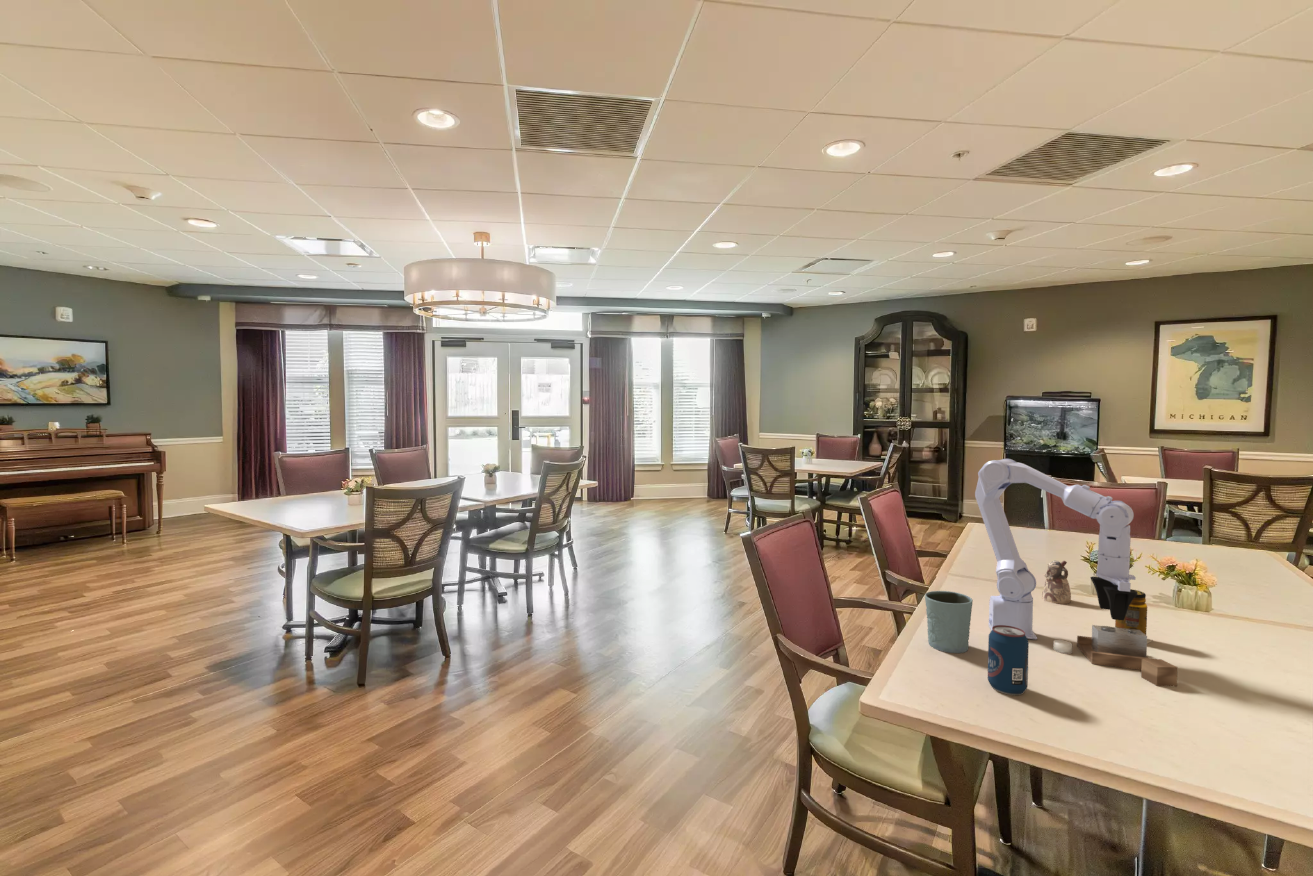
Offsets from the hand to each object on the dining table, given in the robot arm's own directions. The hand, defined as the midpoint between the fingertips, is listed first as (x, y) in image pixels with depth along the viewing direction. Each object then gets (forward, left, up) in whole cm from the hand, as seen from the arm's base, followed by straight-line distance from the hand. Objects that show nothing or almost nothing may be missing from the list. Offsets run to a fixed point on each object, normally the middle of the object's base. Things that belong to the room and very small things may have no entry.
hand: (1111, 614), depth 135 cm
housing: (+1, -1, -9) cm, 9 cm away
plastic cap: (-9, 0, -10) cm, 14 cm away
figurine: (0, +44, -10) cm, 45 cm away
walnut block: (+5, -12, -10) cm, 16 cm away
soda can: (-25, -27, -10) cm, 38 cm away
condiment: (+8, +14, -10) cm, 19 cm away
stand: (+1, -1, -10) cm, 10 cm away
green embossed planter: (-34, -7, -10) cm, 36 cm away
